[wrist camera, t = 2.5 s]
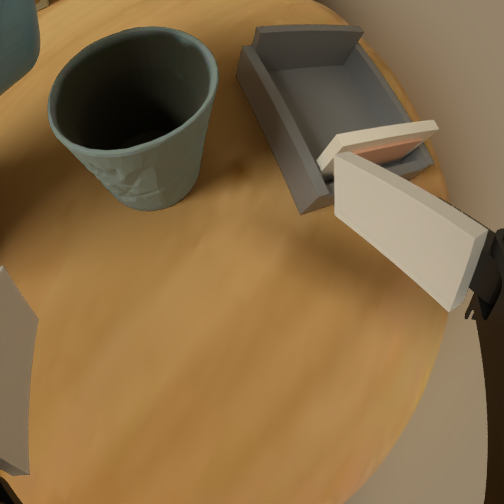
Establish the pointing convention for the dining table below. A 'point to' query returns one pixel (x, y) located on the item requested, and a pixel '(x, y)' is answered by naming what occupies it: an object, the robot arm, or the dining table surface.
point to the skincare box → (41, 4)
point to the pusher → (376, 144)
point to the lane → (317, 101)
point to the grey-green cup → (138, 112)
